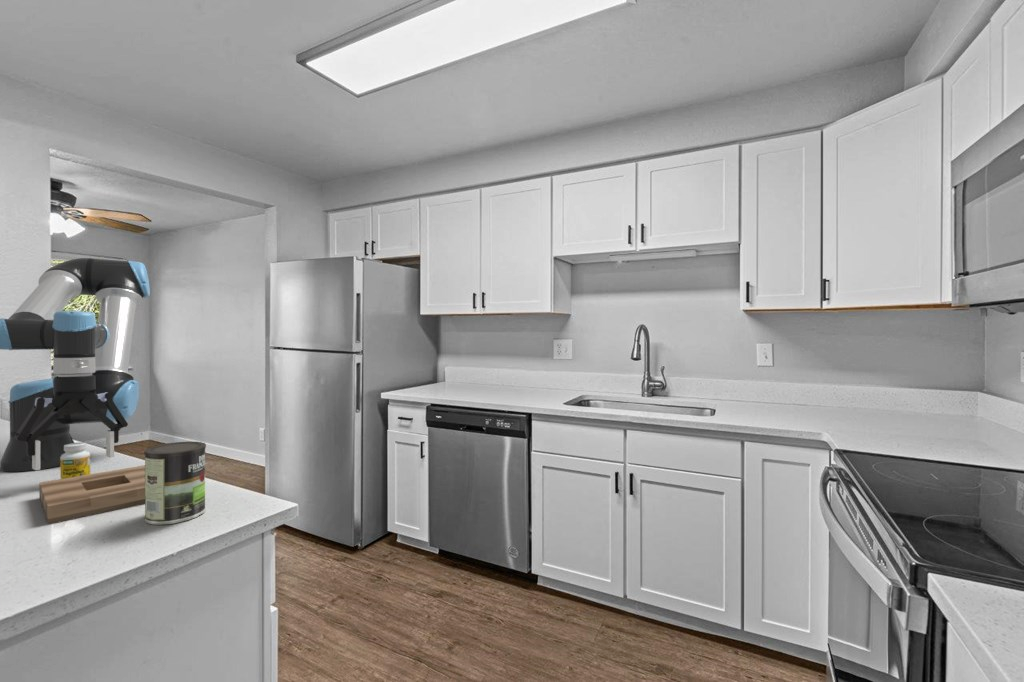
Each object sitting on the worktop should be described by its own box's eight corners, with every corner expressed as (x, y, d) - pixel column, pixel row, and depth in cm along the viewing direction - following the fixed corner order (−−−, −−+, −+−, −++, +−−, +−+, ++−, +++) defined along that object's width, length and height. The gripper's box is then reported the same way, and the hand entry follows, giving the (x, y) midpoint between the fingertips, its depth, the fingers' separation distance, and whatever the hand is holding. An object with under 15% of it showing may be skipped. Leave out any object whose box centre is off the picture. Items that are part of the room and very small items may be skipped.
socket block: (39, 498, 105) (39, 482, 105) (150, 478, 120) (150, 464, 120) (47, 524, 92) (47, 506, 91) (172, 497, 107) (171, 482, 106)
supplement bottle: (92, 478, 119) (92, 440, 118) (88, 484, 114) (88, 445, 114) (63, 482, 116) (63, 443, 115) (57, 488, 111) (57, 448, 111)
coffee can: (214, 504, 103) (214, 440, 103) (190, 524, 93) (190, 452, 93) (162, 506, 101) (162, 441, 101) (132, 526, 91) (132, 454, 91)
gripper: (5, 379, 102) (5, 477, 102) (143, 372, 123) (143, 453, 123) (-5, 377, 106) (-5, 472, 106) (130, 371, 127) (130, 450, 127)
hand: (75, 462), depth 114 cm, fingers open, 13 cm apart
